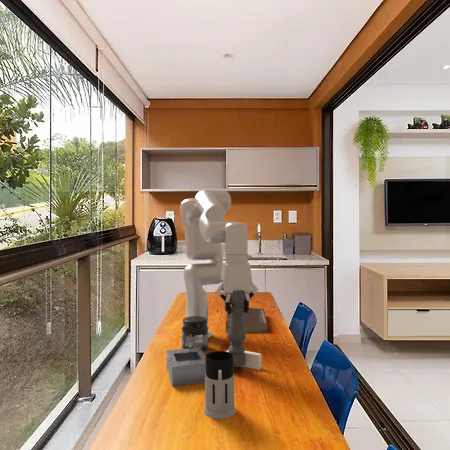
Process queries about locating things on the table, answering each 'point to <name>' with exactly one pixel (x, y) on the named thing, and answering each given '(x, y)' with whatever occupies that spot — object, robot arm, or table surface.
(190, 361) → the gray hollow block
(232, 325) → the candle holder
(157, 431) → the table surface
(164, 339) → the table surface
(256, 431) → the table surface
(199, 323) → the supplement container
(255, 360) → the angle bracket
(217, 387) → the glass holder
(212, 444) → the table surface
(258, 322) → the hardback book
